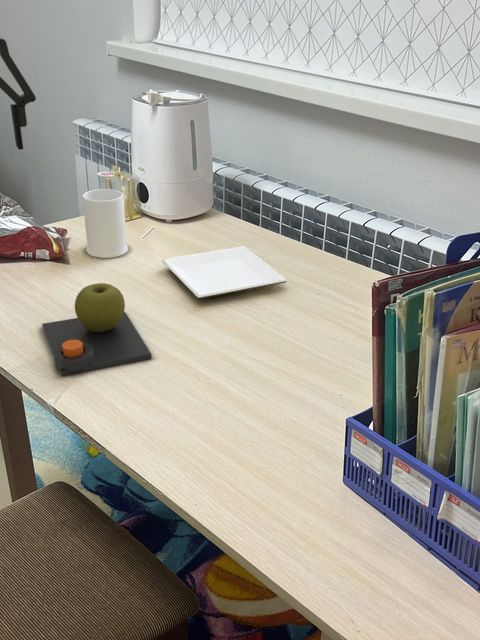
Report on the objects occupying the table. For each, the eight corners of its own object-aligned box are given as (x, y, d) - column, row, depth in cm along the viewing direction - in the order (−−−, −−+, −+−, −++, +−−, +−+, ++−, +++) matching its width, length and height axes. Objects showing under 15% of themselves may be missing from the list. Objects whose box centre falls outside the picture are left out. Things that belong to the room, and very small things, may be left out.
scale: (39, 328, 116) (37, 315, 114) (124, 314, 121) (123, 301, 120) (59, 378, 103) (57, 364, 102) (152, 360, 109) (151, 346, 107)
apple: (131, 334, 114) (128, 294, 110) (82, 342, 111) (78, 302, 107) (119, 313, 120) (117, 276, 116) (73, 321, 117) (68, 282, 113)
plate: (161, 268, 139) (160, 258, 138) (244, 254, 147) (244, 245, 146) (198, 306, 125) (198, 296, 124) (287, 289, 133) (288, 279, 132)
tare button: (61, 350, 106) (60, 341, 105) (81, 346, 107) (80, 338, 106) (65, 359, 104) (64, 350, 103) (85, 356, 105) (84, 347, 104)
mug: (90, 237, 152) (85, 183, 146) (129, 237, 153) (126, 183, 147) (84, 258, 142) (79, 201, 136) (127, 258, 143) (123, 201, 137)
